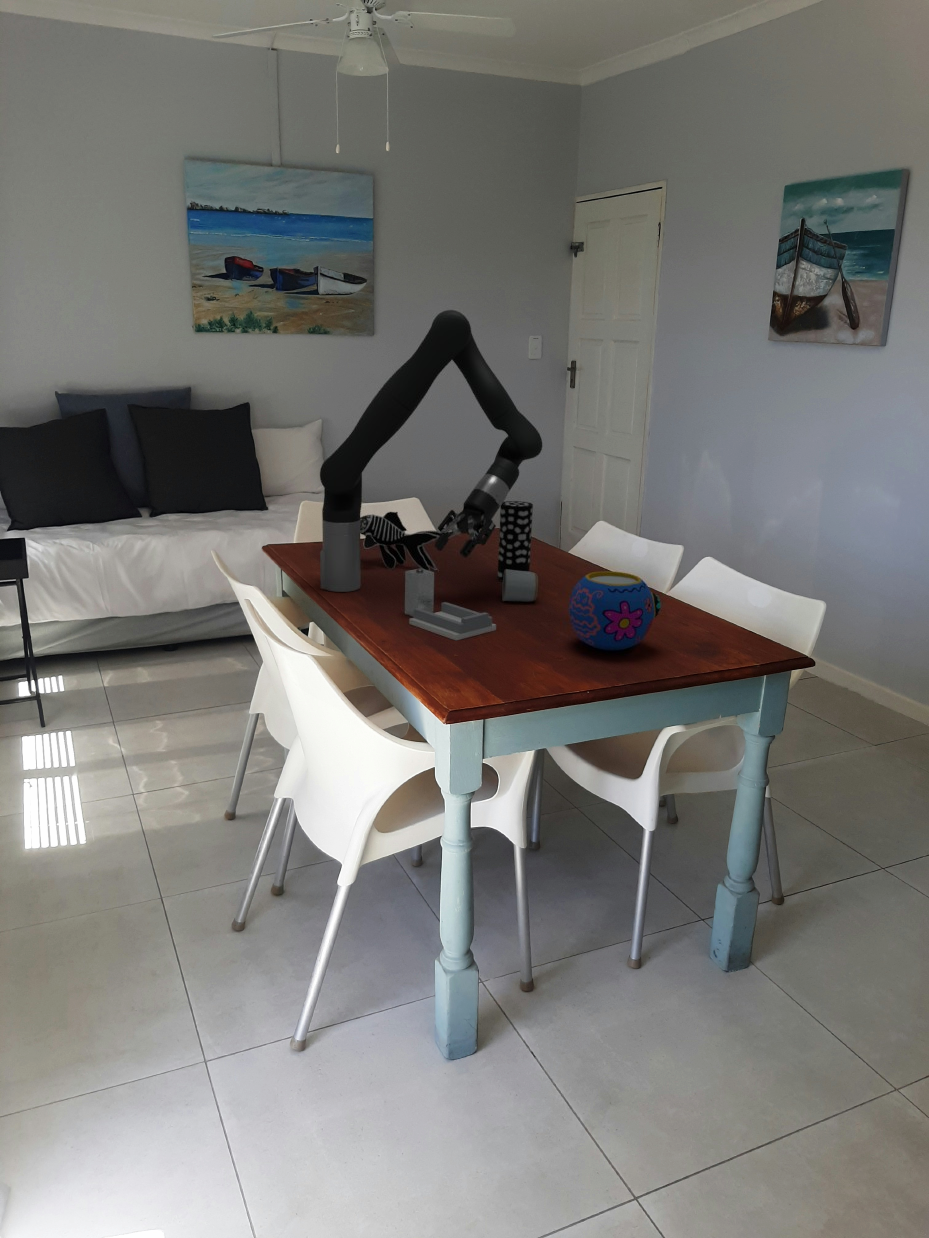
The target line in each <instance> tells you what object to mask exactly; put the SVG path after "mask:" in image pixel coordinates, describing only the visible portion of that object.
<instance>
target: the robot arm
mask: <svg viewBox="0 0 929 1238" xmlns="http://www.w3.org/2000/svg"><path fill="white" fill-rule="evenodd" d="M451 362H453V363H454V364H455V365H456V366H457V368H458V370H459V371H460V372H461V375H463V377H464V379H465V381H466V382H467V385H468V387H469V388H470V390H471V392H472V394H473V395H474V398H475V400H476V401H477V403H478V404H479V407H480V408H481V410H482V411H483V413H484V414H485V416H486V418H487V419H488V420H489V422H490V424H491V425H492V426H493V428H494V429H496V430H499V431H503V432H504V433H505V434H506V435H507V436H506V437H505V438H504V439H503V441H502V442H501V444H500V446H499V448H498V451H497V453H496V455H495V457H494V461H493V463H492V464H490V467H489V468H488V469H487V471H486V472H485V473H484V475H483V476H482V477H481V478H480V479H479V480H478V482H477V483H476V485H475V486H474V487H473V490H471V492H470V494H469V495H468V496H467V497H466V499H465V501H464V502H463V509H462V510H461V511H460V512H459V513H458V512H455V510H454V509H451V510H449V512H448V513H447V514H446V516H445V517H444V519H443V520H442V521H441V522H440V523H439V525H438V527H437V531H439V532H441V535H440V537H439V538H438V539H436V540H435V542H434V547H435V549H436V550H437V551H439V552H442V551H443V549H444V548H445V546H446V545H447V543H448V542H449V540H450V538H452V537H454V536H459V535H460V534H466V535H469V536H468V538H469V539H467V540H466V541H465V543H464V544H463V546H462V548H461V549H460V550H459V554H460V555H461V557H463V558H464V559H465V558H468V556H470V555H471V553H472V551H474V549H475V548H476V547H477V546H479V545H481V546H485V545H486V544H487V542H488V540H489V539H490V538H491V535H492V533H494V531H495V529H496V527H497V525H496V524H495V522H494V520H492V519H493V518H494V516H495V514H497V512H498V511H499V509H500V507H501V505H502V503H503V502H505V500H506V498H507V496H508V494H509V492H510V491H511V489H512V488H513V486H514V485H515V484H516V482H517V480H518V479H519V476H520V469H519V468H520V465H521V464H522V463H523V462H524V461H526V460H531V459H534V458H536V457H538V456H539V455H540V454H541V452H542V450H543V440H542V437H541V434H540V432H539V431H538V429H537V427H535V426H534V425H533V424H532V423H531V422H530V420H528V418H527V417H525V416H524V414H523V413H521V412H520V410H519V409H518V408H517V406H516V405H515V403H514V401H513V400H512V398H511V396H510V395H509V393H508V391H507V389H505V387H504V385H503V384H502V383H501V381H500V380H499V379H498V377H497V376H496V374H495V373H494V372H493V370H492V369H491V367H490V365H488V363H487V361H486V360H485V358H484V357H483V355H482V353H481V351H480V349H479V347H478V345H477V342H476V340H475V339H474V335H473V333H472V326H471V323H470V321H469V319H468V318H467V317H466V315H464V314H463V313H461V312H460V311H458V310H454V309H446V310H443V311H442V312H440V313H438V314H437V315H436V316H435V318H434V319H433V321H432V323H431V326H430V328H429V329H428V332H427V333H426V335H425V336H424V338H423V340H422V341H421V343H420V344H419V346H418V347H417V349H416V350H415V351H414V353H413V354H412V355H411V356H410V357H409V359H408V360H407V361H406V362H404V363H403V364H402V365H401V366H400V367H399V368H398V369H397V370H395V372H394V373H393V374H392V375H391V376H390V377H389V379H388V380H387V381H386V382H385V383H384V384H383V386H382V387H381V388H380V389H379V391H377V393H376V395H375V396H374V397H373V398H372V400H371V402H370V403H369V404H368V405H367V407H366V408H365V410H364V411H363V413H362V414H361V417H360V418H359V420H358V422H356V425H355V426H354V428H353V430H352V431H351V433H350V434H349V436H348V437H347V438H346V439H345V440H344V441H343V442H342V443H341V444H340V446H338V448H337V449H335V451H334V452H333V453H332V454H331V455H330V456H328V457H327V458H326V459H325V460H324V461H323V462H322V464H321V468H320V470H319V479H320V480H319V481H320V482H321V485H322V487H323V488H324V489H323V490H324V495H323V504H322V505H323V506H322V509H321V510H322V511H321V517H322V518H321V519H322V524H321V525H322V549H321V550H320V551H319V553H320V556H319V557H320V558H319V561H320V563H319V564H320V568H319V569H320V571H319V572H320V573H319V574H320V589H321V590H326V591H328V592H329V591H330V592H337V593H339V592H341V593H344V592H346V593H347V592H354V591H357V590H359V589H360V588H361V582H362V581H361V580H362V579H361V533H360V517H361V511H362V510H361V509H362V502H363V501H362V497H363V496H362V495H363V472H364V471H365V469H366V467H367V466H368V464H369V462H370V461H371V460H372V459H373V457H374V456H375V454H376V453H378V451H379V450H380V449H381V448H382V447H383V446H384V445H386V444H387V442H388V441H390V440H391V438H392V437H393V436H394V435H395V434H396V433H397V432H398V431H399V430H400V429H402V427H403V425H405V424H406V422H407V421H408V420H409V418H410V417H411V416H412V414H413V413H414V412H415V410H416V409H417V408H418V406H419V405H420V404H421V403H422V401H423V399H424V398H425V396H427V393H428V392H429V391H430V388H431V387H432V385H433V383H434V382H435V380H436V379H437V377H438V376H439V374H440V373H441V372H442V371H443V370H444V369H445V368H446V367H447V366H448V364H450V363H451Z"/></svg>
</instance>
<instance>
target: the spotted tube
mask: <svg viewBox="0 0 929 1238" xmlns="http://www.w3.org/2000/svg"><path fill="white" fill-rule="evenodd" d="M533 507H534V505H533V503H532V502H527V501H521V500H520V501H519V500H509V501H508V500H506V501H504V502H503V503H502V505H501V506H500V508H499V509H500V510H499V511H500V513H499V529H498V531H499V533H498V535H499V536H498V557H497V577H496V578H497V580H498V581H499V582H502V581H503V576H504V571H505V569H508V570H517V571H527V572H530V569H531V568H530V567H531V550H532V549H531V546H532V532H533V531H532V528H533V509H534V508H533Z"/></svg>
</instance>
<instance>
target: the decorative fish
mask: <svg viewBox="0 0 929 1238" xmlns="http://www.w3.org/2000/svg"><path fill="white" fill-rule="evenodd" d="M406 531H407V532H408V530H407V528H406V527H405V526H404V524H403V523H402V521H401V518H400V516H399V514H398V511H388V512H386V513H385V514H384V515H383V516H382V515H376V514H366V515H365V514H364V515H363V516H360V535H362V536H364V537H365V538H364V540H363V542H362V543H363V548H364V549H366V550H367V549H371V548H374V547H375V546H378V549H379V551H380V555H381V559H382V562H383V564H384V565H385V567H386V568H388V569H389V570H393V569H394V568H395V567H396V563H397V564H398V565H400V564H402V566H403V565H405V563H407V553H408V555H409V557H410V558H411V560H412V561H413V562H414V563H415V565H416V566H417V567H419V569H420V568H421V569H425V570H428V571H431V569H432V570H433V571H436V570H438V571H439V569H438V568H437V567H436V564H435V563H434V561H433V559H432V558H431V557H430V555H429V553H428V552H427V551H426V548H425V545H428V544H429V543H431V542H434V541H437V539H438V538H439V537H440V535H441V532H440V531H439V530H422V531H416V532H414V533H406ZM393 546H394V547H393ZM406 552H407V553H406Z"/></svg>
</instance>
